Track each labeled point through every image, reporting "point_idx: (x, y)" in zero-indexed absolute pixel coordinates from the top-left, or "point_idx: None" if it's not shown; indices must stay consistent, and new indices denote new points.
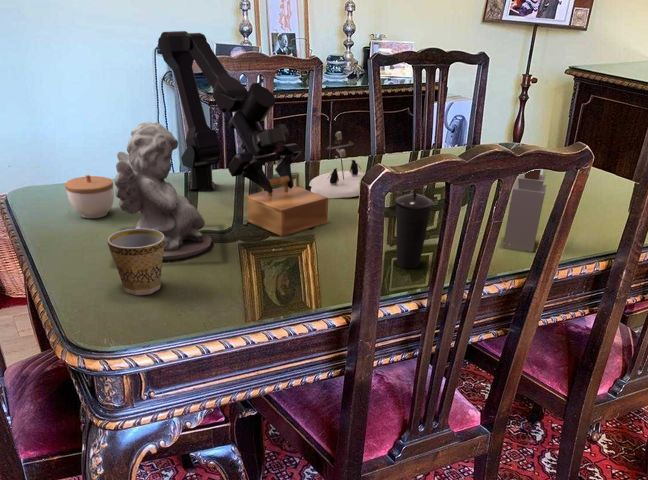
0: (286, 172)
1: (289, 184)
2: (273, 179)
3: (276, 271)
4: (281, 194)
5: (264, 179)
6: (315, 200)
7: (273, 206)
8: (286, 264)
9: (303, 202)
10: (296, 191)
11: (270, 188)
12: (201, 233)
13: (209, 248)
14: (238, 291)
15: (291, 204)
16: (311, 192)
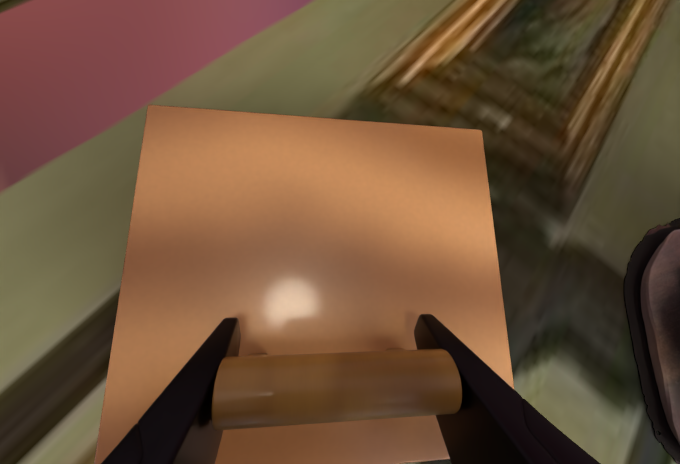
0: (184, 454)
1: (234, 350)
2: (410, 375)
3: (564, 31)
4: (326, 327)
5: (511, 388)
6: (248, 118)
7: (487, 189)
8: (525, 39)
9: (324, 137)
10: (201, 318)
11: (443, 325)
12: (662, 340)
13: (649, 247)
14: (668, 23)
15: (396, 154)
16: (141, 237)
